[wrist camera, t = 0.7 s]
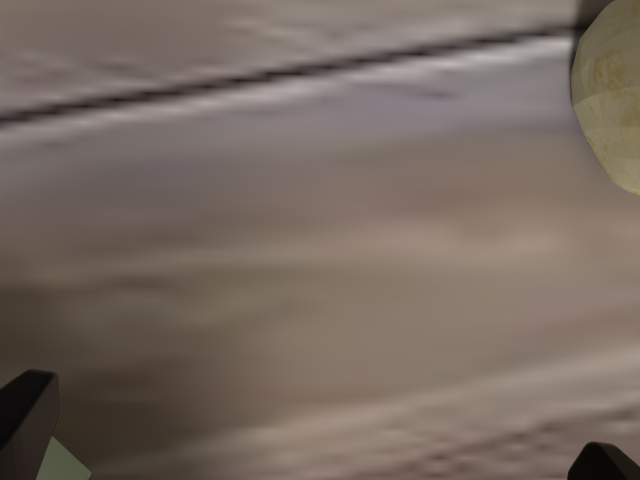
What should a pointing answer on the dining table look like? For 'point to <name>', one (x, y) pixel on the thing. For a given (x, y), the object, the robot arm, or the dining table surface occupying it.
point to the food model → (611, 91)
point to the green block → (61, 464)
